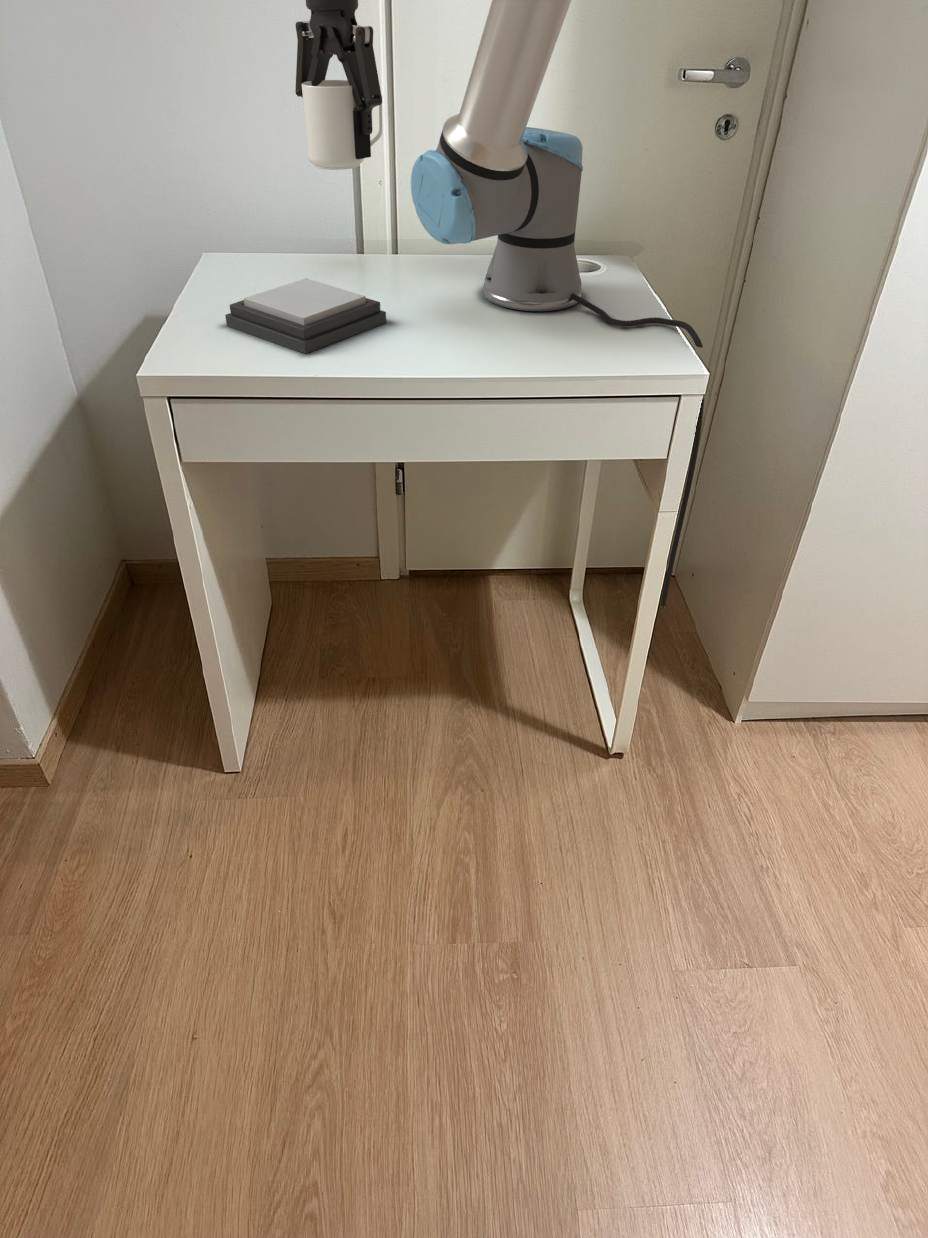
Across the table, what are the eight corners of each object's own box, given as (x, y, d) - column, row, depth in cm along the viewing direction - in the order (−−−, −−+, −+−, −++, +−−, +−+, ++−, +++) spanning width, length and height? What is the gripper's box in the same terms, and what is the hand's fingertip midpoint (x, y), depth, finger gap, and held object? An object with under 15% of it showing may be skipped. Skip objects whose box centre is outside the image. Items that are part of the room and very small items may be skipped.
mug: (307, 170, 135) (299, 86, 128) (310, 160, 142) (303, 79, 135) (385, 170, 136) (382, 86, 129) (384, 159, 143) (381, 79, 136)
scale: (386, 322, 127) (385, 301, 125) (305, 354, 117) (303, 331, 115) (308, 298, 135) (306, 277, 133) (226, 325, 125) (223, 304, 123)
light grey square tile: (366, 305, 125) (365, 295, 124) (304, 327, 118) (303, 317, 117) (306, 287, 131) (306, 277, 130) (244, 307, 123) (243, 297, 122)
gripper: (404, -22, 122) (408, 159, 136) (297, -27, 132) (311, 141, 146) (367, -21, 117) (375, 166, 131) (259, -27, 128) (277, 147, 141)
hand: (341, 153), depth 139 cm, fingers closed on mug, 9 cm apart
